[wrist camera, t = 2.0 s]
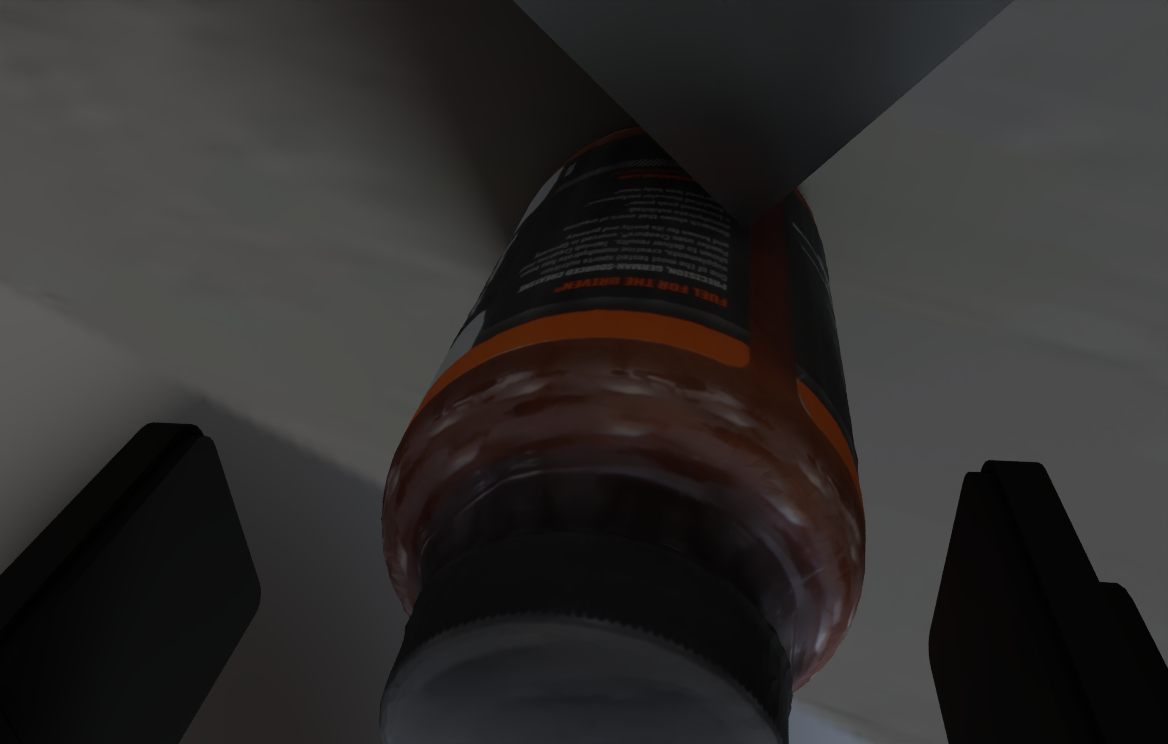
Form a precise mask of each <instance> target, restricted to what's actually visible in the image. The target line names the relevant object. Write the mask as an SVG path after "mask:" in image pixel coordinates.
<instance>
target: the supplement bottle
mask: <svg viewBox="0 0 1168 744" xmlns="http://www.w3.org/2000/svg"><path fill="white" fill-rule="evenodd" d="M381 520H382V539H383V551H384V557H385V561H386V565H387V567H388V572H389V577H390V579H391V583H392V586H393V588H394V590H395V592H396V594H397V596H398V597H399V599H400V601H401V602H402V605H403V608H404V610H405V612H406V613H407V614H408V615H409V617H410V618H409V621H408V622H407V624H406V626H405V635H404V640H403V643H402V646H401V649H400V651H399V653H398V655H397V658H396V661H395V663H394V666H393V668H392V670H391V673H390V675H389V678H388V681H387V683H386V686H385V689H384V693H383V696H382V700H381V703H380V719H379V723H380V736H381V738H382V741H383V743H384V744H789V737H788V718H789V715H790V711H791V702H792V697H793V694H792V693H794V692H795V691H796V690H797V689H799V688H800V687H802V686H803V685H804V684H805V683H807V682H808V681H809V680H810V679H811V678H812V677H813V676H815V675H816V674H817V673H818V672H819V670H820V669H821V668H822V667H823V666H824V665H825V664H826V663H827V662H828V660H829V659H830V658H831V657H832V656H833V654H834V652H835V650H836V649H837V647H838V646H839V644H840V643H841V642H842V640H843V639H844V637H845V636H846V634H847V632H848V630H849V628H850V626H851V623H852V621H853V618H854V616H855V614H856V609H857V606H858V602H859V600H860V597H861V591H862V585H863V579H864V573H865V542H866V533H865V515H864V508H863V501H862V494H861V489H860V484H859V477H858V458H857V454H856V450H855V446H854V440H853V433H852V425H851V417H850V414H849V406H848V400H847V393H846V384H845V378H844V373H843V366H842V360H841V355H840V347H839V340H838V335H837V328H836V322H835V316H834V311H833V304H832V297H831V293H830V287H829V276H828V269H827V265H826V260H825V253H824V249H823V244H822V241H821V238H820V236H819V233H818V230H817V226H816V224H815V221H814V218H813V214H812V212H811V210H810V208H809V207H808V205H807V203H806V201H805V199H804V198H803V196H802V195H801V193H800V192H799V190H798V189H797V188H795V189H794V190H792V191H791V192H790V193H789V194H788V195H787V196H785V197H784V198H783V199H782V200H781V201H780V202H778V203H777V204H776V205H775V206H774V207H773V208H771V209H770V210H769V211H768V212H767V213H766V214H764V215H763V216H762V217H761V218H760V219H759V220H757V221H756V222H755V223H754V224H753V225H752V226H750V227H749V228H748V229H747V230H745V229H744V228H743V227H742V226H741V225H740V224H739V223H738V222H737V221H736V220H735V219H734V218H733V217H732V216H731V215H730V214H729V213H728V212H727V211H726V210H725V209H724V208H723V207H722V206H721V205H720V204H719V203H718V202H717V201H716V200H715V199H714V198H713V197H712V196H711V195H710V194H708V193H707V192H706V191H705V190H704V189H703V188H702V187H701V186H700V185H699V184H698V183H697V182H696V181H695V180H694V179H693V178H692V177H691V176H690V175H689V174H688V173H687V172H686V171H685V170H684V169H683V168H682V167H681V166H680V165H679V164H678V163H677V162H676V161H675V160H674V159H673V158H672V157H671V156H670V155H669V154H668V153H667V152H666V151H665V150H664V149H663V148H662V147H661V146H660V145H659V144H658V143H657V142H656V141H655V140H654V139H653V138H652V137H651V136H650V135H649V134H648V133H647V132H646V131H645V130H644V129H643V128H642V127H641V126H637V127H632V128H627V129H624V130H620V131H616V132H614V133H611V134H609V135H607V136H604V137H602V138H599V139H598V140H596V141H594V142H592V143H590V144H588V145H587V146H585V147H583V148H582V149H581V150H579V151H578V152H577V153H575V154H574V155H573V156H571V157H570V158H569V159H568V160H566V161H565V162H564V163H563V164H562V165H561V166H559V167H558V168H557V169H556V171H555V172H554V173H553V174H552V175H551V176H550V178H549V179H548V180H547V181H546V182H545V184H544V185H543V186H542V188H541V189H540V190H539V192H538V193H537V195H536V196H535V198H534V199H533V200H532V202H531V203H530V205H529V207H528V209H527V211H526V212H525V214H524V216H523V218H522V220H521V222H520V223H519V225H518V227H517V229H516V231H515V232H514V234H513V236H512V238H511V240H510V241H509V243H508V245H507V247H506V248H505V250H504V252H503V254H502V256H501V258H500V259H499V261H498V263H497V264H496V266H495V268H494V270H493V272H492V274H491V276H490V277H489V279H488V281H487V282H486V285H485V287H484V288H483V290H482V292H481V294H480V296H479V298H478V300H477V302H476V304H475V306H474V307H473V309H472V310H471V312H470V313H469V316H468V318H467V320H466V322H465V323H464V325H463V327H462V328H461V330H460V332H459V333H458V335H457V337H456V338H455V340H454V342H453V344H452V346H451V348H450V350H449V352H448V354H447V356H446V358H445V360H444V361H443V363H442V365H441V367H440V369H439V370H438V372H437V374H436V376H435V378H434V380H433V381H432V383H431V385H430V387H429V389H428V390H427V392H426V394H425V396H424V398H423V400H422V402H421V404H420V406H419V408H418V410H417V412H416V413H415V415H414V417H413V418H412V420H411V422H410V424H409V426H408V428H407V430H406V432H405V434H404V436H403V438H402V440H401V442H400V444H399V446H398V448H397V450H396V452H395V455H394V457H393V460H392V463H391V466H390V470H389V473H388V476H387V481H386V485H385V490H384V497H383V509H382V518H381Z"/></svg>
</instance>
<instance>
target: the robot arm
mask: <svg viewBox="0 0 1168 744" xmlns="http://www.w3.org/2000/svg"><path fill="white" fill-rule="evenodd" d="M260 597H261V588H260V583H259V580H258V576H257V573H256V570H255V568H254V564H253V561H252V558H251V555H250V552H249V549H248V546H247V542H246V539H245V536H244V533H243V530H242V527H241V524H240V521H239V518H238V515H237V511H236V509H235V505H234V502H233V499H232V496H231V493H230V490H229V487H228V484H227V481H226V478H225V474H224V471H223V468H222V465H221V462H220V459H219V456H218V453H217V450H216V447H215V444H214V442H213V440H212V439H211V438H210V437H207V436H204V435H203V433H202V431H201V430H200V429H199V428H198V427H197V426H195V425H192V424H176V423H154V422H153V423H149V424H147V425H145V426H144V427H142V428H141V429H140V430H139V431H138V432H137V433H136V434H135V435H134V437H132V439H131V440H130V441H129V442H128V443H127V444H126V445H125V446H124V447H123V448H122V449H121V450H120V451H119V452H118V453H117V454H116V455H115V456H114V457H113V458H112V460H110V461H109V462H108V464H107V465H106V466H105V467H104V468H103V469H102V470H101V471H100V472H99V473H98V474H97V475H96V476H95V477H94V478H93V479H92V480H91V481H90V482H89V483H88V484H87V485H86V487H85V488H84V489H83V490H82V491H81V492H80V493H79V494H78V495H77V496H76V497H75V498H74V499H73V500H72V501H71V502H70V503H69V504H68V505H67V506H66V507H65V508H64V510H62V511H61V513H60V514H59V515H58V516H57V517H56V518H55V519H54V520H53V521H52V522H51V523H50V524H49V525H48V526H47V527H46V528H45V529H44V530H43V531H42V532H41V533H40V534H39V536H38V537H37V538H36V539H35V540H34V541H33V542H32V543H31V544H30V545H29V546H28V547H27V548H26V549H25V550H24V551H23V552H22V553H21V554H20V555H19V556H18V557H17V558H16V559H15V561H14V562H13V563H12V564H11V565H10V566H9V567H8V568H7V569H6V570H5V571H4V572H3V573H2V574H1V575H0V744H179V742H180V740H181V739H182V737H183V735H184V733H185V732H186V730H187V728H188V727H189V725H190V723H191V722H192V720H193V718H194V717H195V715H196V713H197V712H198V710H199V708H200V707H201V705H202V703H203V702H204V700H205V698H206V696H207V695H208V693H209V691H210V690H211V688H212V686H213V685H214V683H215V681H216V679H217V678H218V676H219V675H220V673H221V671H222V669H223V668H224V666H225V665H226V663H227V661H228V659H229V658H230V656H231V654H232V653H233V651H234V649H235V648H236V646H237V644H238V642H239V641H240V639H241V637H242V636H243V634H244V632H245V631H246V629H247V627H248V626H249V624H250V622H251V621H252V619H253V617H254V616H255V614H256V612H257V609H258V607H259V603H260ZM929 660H930V665H931V670H932V674H933V679H934V683H935V687H936V691H937V696H938V700H939V704H940V709H941V713H942V717H943V721H944V726H945V730H946V734H947V738H948V743H949V744H1168V668H1167V666H1166V664H1165V662H1164V660H1163V658H1162V656H1161V654H1160V652H1159V650H1158V648H1157V646H1156V644H1155V642H1154V640H1153V638H1152V636H1151V634H1150V632H1149V631H1148V629H1147V627H1146V625H1145V623H1144V621H1143V619H1142V617H1141V615H1140V613H1139V611H1138V609H1137V607H1136V605H1135V603H1134V601H1133V599H1132V598H1131V596H1130V595H1129V594H1128V592H1127V591H1126V589H1125V588H1123V587H1122V586H1121V585H1119V584H1118V583H1108V582H1099V580H1098V578H1097V576H1096V573H1095V571H1094V569H1093V567H1092V565H1091V563H1090V561H1089V559H1088V557H1087V555H1086V553H1085V551H1084V548H1083V546H1082V544H1081V542H1080V540H1079V538H1078V536H1077V534H1076V532H1075V530H1074V528H1073V525H1072V523H1071V521H1070V519H1069V517H1068V515H1067V513H1066V511H1065V509H1064V507H1063V505H1062V502H1061V500H1060V498H1059V496H1058V494H1057V492H1056V490H1055V488H1054V486H1053V484H1052V482H1051V479H1050V477H1049V475H1048V473H1047V471H1046V469H1045V468H1044V466H1043V465H1042V464H1040V463H1038V462H1018V461H996V460H988V461H986V462H985V463H984V465H983V466H982V469H981V472H968V473H967V474H966V475H965V477H964V481H963V485H962V489H961V494H960V498H959V503H958V507H957V512H956V516H955V521H954V525H953V530H952V534H951V539H950V543H949V548H948V552H947V557H946V561H945V566H944V570H943V575H942V579H941V584H940V588H939V593H938V597H937V602H936V606H935V611H934V615H933V620H932V624H931V629H930V634H929Z"/></svg>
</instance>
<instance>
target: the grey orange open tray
mask: <svg viewBox="0 0 1168 744" xmlns="http://www.w3.org/2000/svg"><path fill="white" fill-rule="evenodd" d="M513 1H514V2H515V3H516V4H517V5H518V6H519V7H520V8H521V9H522V10H523V11H524V12H525V13H526V14H527V15H528V16H529V17H530V18H531V19H532V20H533V21H534V22H535V23H536V24H537V25H538V26H539V27H540V28H541V29H542V30H543V31H544V32H545V33H546V34H547V35H548V36H549V37H550V38H551V39H552V40H553V41H554V42H555V43H556V44H557V45H559V46H560V47H561V48H562V49H563V50H564V51H565V52H566V53H567V54H568V55H569V56H570V57H571V58H572V59H573V60H574V61H575V62H576V63H577V64H578V65H579V66H580V67H581V68H582V69H583V70H584V71H585V72H586V73H587V74H588V75H589V76H590V77H591V78H592V79H593V80H594V81H595V82H596V83H597V84H598V85H599V86H600V87H601V88H602V89H603V90H604V91H605V92H606V93H607V94H608V95H609V96H610V97H611V98H612V99H613V100H614V101H615V102H616V103H617V104H618V105H619V106H620V107H621V108H622V109H623V110H624V111H625V112H626V113H627V114H628V115H629V116H630V117H631V118H632V119H634V120H635V121H636V122H637V123H638V124H639V125H640V126H641V127H642V128H643V129H644V130H645V131H646V132H647V133H648V134H649V135H650V136H651V137H652V138H653V139H654V140H655V141H656V142H657V143H658V144H659V145H660V146H661V147H662V148H663V149H664V150H665V151H666V152H667V153H668V154H669V155H670V156H671V157H672V158H673V159H674V160H675V161H676V162H677V163H678V164H679V165H680V166H681V167H682V168H683V169H684V170H685V171H686V172H687V173H688V174H689V175H690V176H691V177H692V178H693V179H694V180H695V181H696V182H697V183H698V184H699V185H700V186H701V187H702V188H703V189H704V190H705V191H706V192H707V193H708V194H710V195H711V196H712V197H713V198H714V199H715V200H716V201H717V202H718V203H719V204H720V205H721V206H722V207H723V208H724V209H725V210H726V211H727V212H728V213H729V214H730V215H731V216H732V217H733V218H734V219H735V220H736V221H737V222H738V223H739V224H740V225H741V226H742V227H743V228H744V229H745V230H747V229H748V228H749V227H750V226H752V225H753V224H754V223H755V222H756V221H757V220H759V219H760V218H761V217H762V216H763V215H764V214H766V213H767V212H768V211H769V210H770V209H771V208H773V207H774V206H775V205H776V204H777V203H778V202H780V201H781V200H782V199H783V198H784V197H785V196H787V195H788V194H789V193H790V192H791V191H792V190H794V189H795V188H796V187H797V186H798V185H799V184H801V183H802V182H803V181H804V180H805V179H806V178H807V177H809V176H810V175H811V174H812V173H813V172H814V171H816V170H817V169H818V168H819V167H820V166H821V165H823V164H824V163H825V162H826V161H827V160H828V159H830V158H831V157H832V156H833V155H834V154H835V153H837V152H838V151H839V150H840V149H841V148H842V147H844V146H845V145H846V144H847V143H848V142H849V141H851V140H852V139H853V138H854V137H855V136H856V135H858V134H859V133H860V132H861V131H862V130H863V129H865V128H866V127H867V126H868V125H869V124H870V123H872V122H873V121H874V120H875V119H876V118H877V117H879V116H880V115H881V114H882V113H883V112H884V111H886V110H887V109H888V108H889V107H890V106H891V105H892V104H894V103H895V102H896V101H897V100H898V99H899V98H901V97H902V96H903V95H904V94H905V93H906V92H908V91H909V90H910V89H911V88H912V87H913V86H915V85H916V84H917V83H918V82H919V81H920V80H922V79H923V78H924V77H925V76H926V75H927V74H929V73H930V72H931V71H932V70H933V69H934V68H936V67H937V66H938V65H939V64H940V63H941V62H943V61H944V60H945V59H946V58H947V57H948V56H950V55H951V54H952V53H953V52H954V51H955V50H957V49H958V48H959V47H960V46H961V45H962V44H964V43H965V42H966V41H967V40H968V39H969V38H971V37H972V36H973V35H974V34H975V33H976V32H977V31H979V30H980V29H981V28H982V27H983V26H984V25H986V24H987V23H988V22H989V21H990V20H991V19H993V18H994V17H995V16H996V15H997V14H998V13H1000V12H1001V11H1002V10H1003V9H1004V8H1005V7H1007V6H1008V5H1009V4H1010V3H1011V2H1012V1H1014V0H513Z"/></svg>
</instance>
